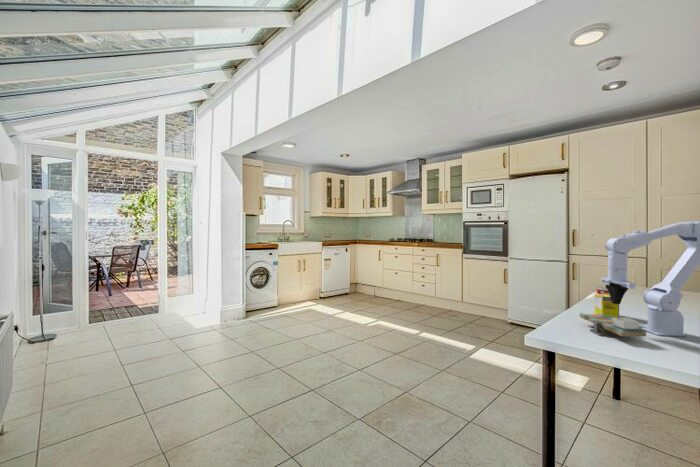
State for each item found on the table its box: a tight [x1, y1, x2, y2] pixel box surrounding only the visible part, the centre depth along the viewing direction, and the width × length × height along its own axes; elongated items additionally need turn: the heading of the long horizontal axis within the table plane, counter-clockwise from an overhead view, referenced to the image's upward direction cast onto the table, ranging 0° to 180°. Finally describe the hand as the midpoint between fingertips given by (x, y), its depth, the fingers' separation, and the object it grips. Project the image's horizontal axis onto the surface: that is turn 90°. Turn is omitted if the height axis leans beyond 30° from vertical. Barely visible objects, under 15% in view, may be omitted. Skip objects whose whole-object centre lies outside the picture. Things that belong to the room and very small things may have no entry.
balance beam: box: [579, 312, 647, 337], centre depth 120 cm, size 22×8×2 cm, turn 176°
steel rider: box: [613, 316, 640, 331], centre depth 113 cm, size 5×5×4 cm
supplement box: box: [594, 293, 618, 318], centre depth 135 cm, size 6×6×11 cm
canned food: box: [596, 286, 620, 317], centre depth 144 cm, size 8×8×12 cm
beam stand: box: [589, 322, 621, 337], centre depth 119 cm, size 5×12×4 cm, turn 86°
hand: (616, 303), depth 123 cm, fingers closed
